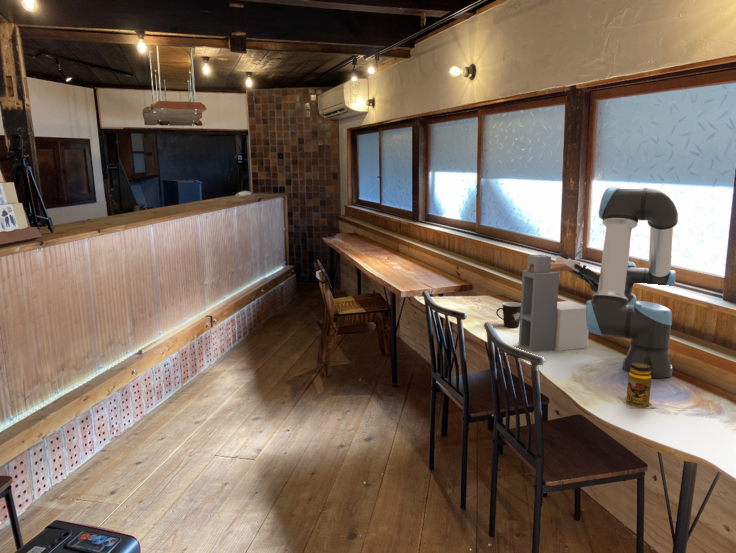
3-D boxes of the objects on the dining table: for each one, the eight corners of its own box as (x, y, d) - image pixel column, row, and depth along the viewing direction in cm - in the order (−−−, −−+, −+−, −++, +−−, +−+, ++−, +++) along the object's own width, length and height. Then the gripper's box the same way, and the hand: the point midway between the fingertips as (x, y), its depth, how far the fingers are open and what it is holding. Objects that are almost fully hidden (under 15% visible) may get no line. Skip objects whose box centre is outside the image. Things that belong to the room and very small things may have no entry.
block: (587, 347, 212) (590, 307, 209) (558, 350, 208) (561, 309, 205) (568, 338, 223) (570, 300, 220) (540, 341, 220) (542, 302, 217)
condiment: (630, 408, 157) (634, 369, 155) (617, 396, 165) (621, 359, 163) (656, 408, 157) (660, 369, 155) (641, 397, 165) (645, 359, 163)
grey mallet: (581, 270, 208) (583, 255, 207) (536, 273, 203) (536, 257, 202) (572, 268, 214) (573, 253, 213) (527, 270, 209) (528, 255, 207)
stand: (554, 349, 209) (559, 272, 204) (531, 351, 207) (535, 274, 201) (540, 342, 218) (545, 268, 212) (518, 344, 215) (522, 270, 210)
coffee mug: (519, 323, 246) (520, 302, 244) (523, 329, 237) (524, 306, 235) (493, 323, 247) (494, 301, 245) (495, 328, 238) (496, 306, 237)
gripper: (616, 300, 207) (573, 272, 200) (583, 290, 225) (543, 264, 218) (625, 282, 207) (583, 254, 199) (592, 274, 225) (552, 248, 217)
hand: (562, 259), depth 208 cm, fingers open, 6 cm apart
